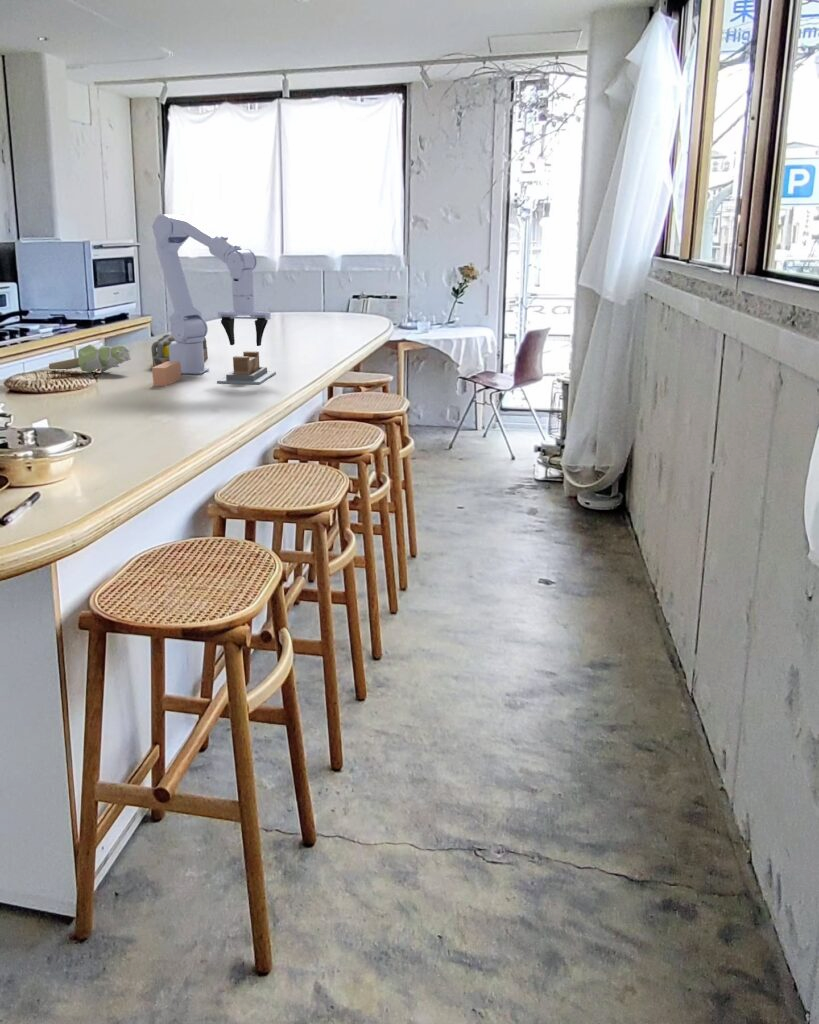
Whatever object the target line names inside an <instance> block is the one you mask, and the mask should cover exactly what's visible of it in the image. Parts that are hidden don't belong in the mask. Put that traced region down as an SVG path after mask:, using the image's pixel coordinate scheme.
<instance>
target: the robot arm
mask: <svg viewBox="0 0 819 1024" xmlns="http://www.w3.org/2000/svg"><path fill="white" fill-rule="evenodd" d="M151 227H152V228H151V229H152V232H153V235H154V238H155V249H156V253H157V256H158V260H159V263H160V266H161V269H162V273H163V276H164V280H165V283H166V284H165V285H166V287H167V289H168V294H169V297H170V300H171V304H172V307H173V311H172V313H171V315H170V316H169V318H168V319H169V322H170V334H172V336H173V338H174V339H175V340H176V342H171V343H170V346H169V358H170V361H180V366H181V374H186V375H187V374H190V375H192V374H193V375H201V374H204V373H206V372H208V371H209V370H210V368H209V367H207V368H206V367H205V363H204V353H203V341H204V337H205V338H206V336H207V334H208V331H209V330H208V324H207V322H206V320H205V319H204V318H203V316H202V312H201V311H200V310H199V309H198V308H196V307H195V306H194V304H193V302H192V298H191V295H190V291H189V286H188V284H187V281H186V277H185V273H184V270H183V267H182V263H181V260H180V256H179V253H178V251H179V250H180V248H181V247H182V246H183V244H184V243H185V242H186V241H187V240H188V239H189V238H192V239H194V240H195V241H197V242H199V243H201V244H202V245H203V246H206V247H207V248H208V252H209V253H210V254H211V256H214V257H215V258H217V259H218V260H219V261H221V262H223V263H224V264H225V265H226V267H227V269H228V270H229V276H230V278H231V288H232V308H233V309H232V310H218V311H217V319H221V320H220V322H221V323H220V324H221V325H222V327H223V328H224V331H225V333H226V335H227V339H228V341H229V346H234V345H235V342H236V341H235V333H234V332H235V319H242V320H244V319H245V320H249V319H250V320H254V325H255V335H256V338H255V339H256V340H255V341H256V346H257V347H260V346H262V341H263V339H262V338H263V335H264V332H265V329H266V326H267V324H268V323H269V322H268V320H271V318H272V317H271V312H270V311H258V310H255V298H254V297H255V295H254V294H255V293H254V275H253V274H254V273H253V271H254V269H255V268H256V267H257V256H256V255H255V253H254V252H253V251H252V250H251V249H249V248H246V249H242V247H241V246H240V245H239V244H235V243H234V242H232V241H231V240H229V237H228V236H227V235H217V236H215V235H214V234H212V233H211V232H210V231H208V230H207V229H205V228H204V227H203V226H201V225H200V224H199V223H197V222H196V221H195V219H194V218H192V217H190V216H188V215H187V214H163V213H160V214H158V215H157V216H156V217H155V219H154V221H153V223H152V225H151Z"/></svg>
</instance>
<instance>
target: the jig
mask: <svg viewBox="0 0 819 1024" xmlns="http://www.w3.org/2000/svg"><path fill="white" fill-rule="evenodd" d="M259 367H260V369H259V370H258V371H256V372H254V373H253V374H251V375H237V374H234V370H232V371H230V372H229V373H227V374H226V375H224V376H223V377H221V378H220V379H218V380H216V383H217V384H232V385H233V384H234V385H236V384H239V385H240V384H241V385H261V384H263V383H264V382H266V381H267V380H269V379H270V378H272V377H273V376H274V374H275V375H276V374H277V372H276V371H269V370H268V367H267V366H259ZM271 376H272V377H271ZM268 378H269V379H268ZM265 380H266V381H265Z"/></svg>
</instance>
